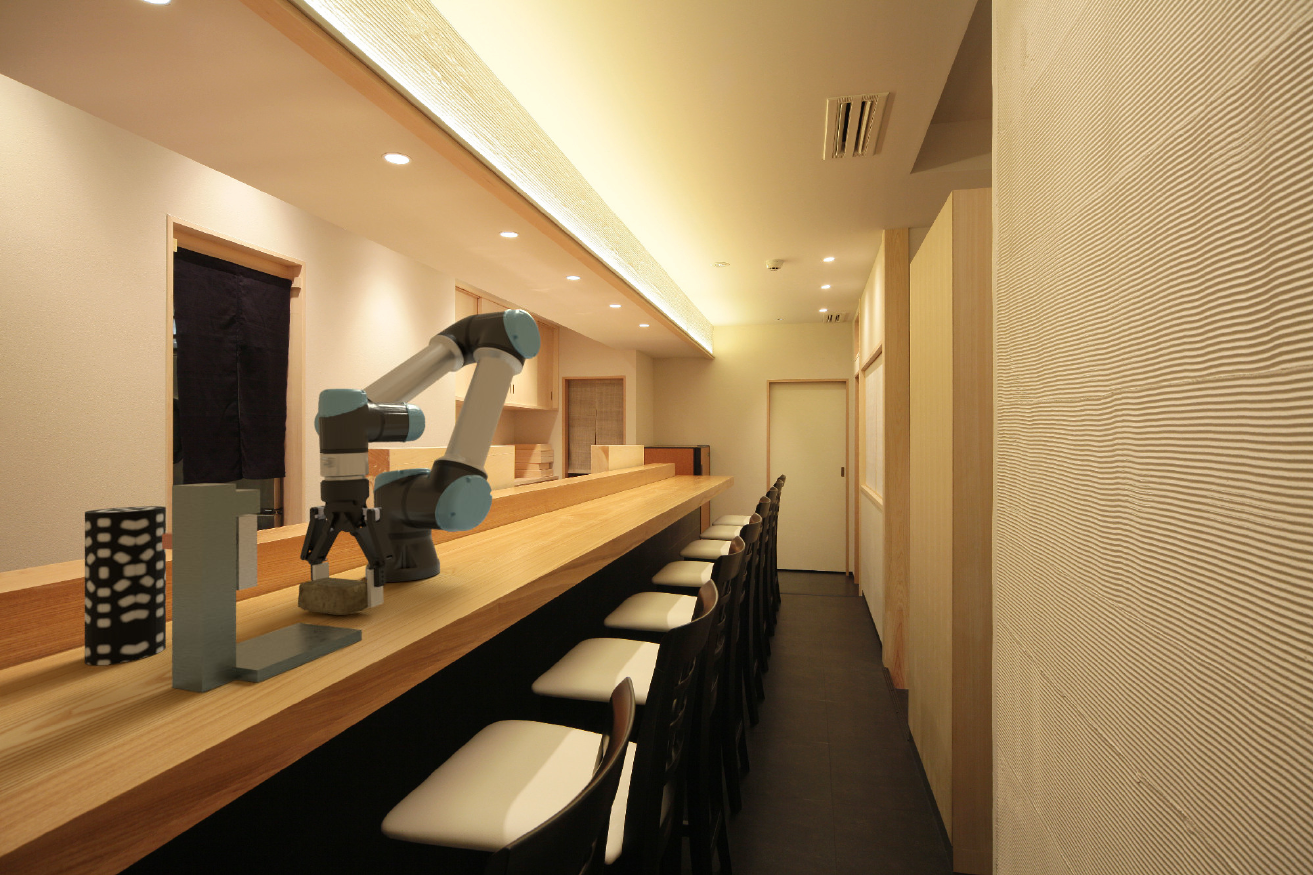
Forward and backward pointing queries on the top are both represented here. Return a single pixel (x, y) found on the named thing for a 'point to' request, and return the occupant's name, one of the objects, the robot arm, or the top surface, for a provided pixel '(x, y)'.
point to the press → (226, 598)
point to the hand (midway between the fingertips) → (348, 602)
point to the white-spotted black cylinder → (124, 584)
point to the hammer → (238, 550)
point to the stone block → (333, 596)
